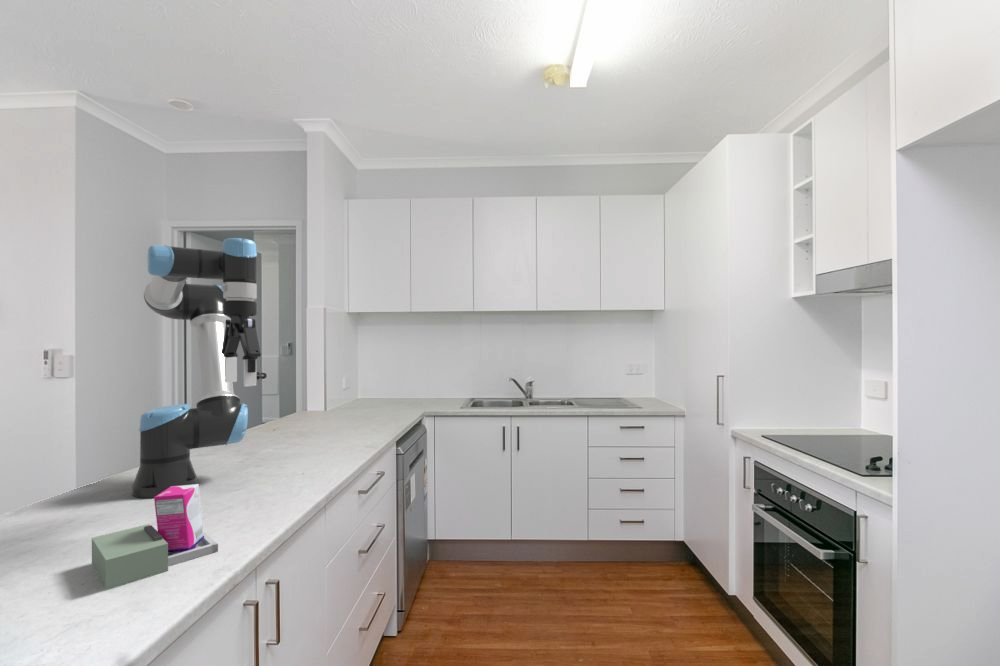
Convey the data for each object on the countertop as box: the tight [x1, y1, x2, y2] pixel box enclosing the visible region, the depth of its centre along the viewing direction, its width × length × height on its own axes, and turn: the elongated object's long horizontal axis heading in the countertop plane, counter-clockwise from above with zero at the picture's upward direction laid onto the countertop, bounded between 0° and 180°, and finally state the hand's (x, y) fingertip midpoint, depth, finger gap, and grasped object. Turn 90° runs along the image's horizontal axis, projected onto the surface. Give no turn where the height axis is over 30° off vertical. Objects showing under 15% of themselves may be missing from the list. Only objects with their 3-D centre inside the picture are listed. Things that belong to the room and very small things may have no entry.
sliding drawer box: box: [91, 523, 219, 590], centre depth 95 cm, size 14×18×6 cm
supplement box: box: [153, 483, 205, 553], centre depth 98 cm, size 6×6×12 cm
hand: (240, 384), depth 124 cm, fingers open, 13 cm apart
